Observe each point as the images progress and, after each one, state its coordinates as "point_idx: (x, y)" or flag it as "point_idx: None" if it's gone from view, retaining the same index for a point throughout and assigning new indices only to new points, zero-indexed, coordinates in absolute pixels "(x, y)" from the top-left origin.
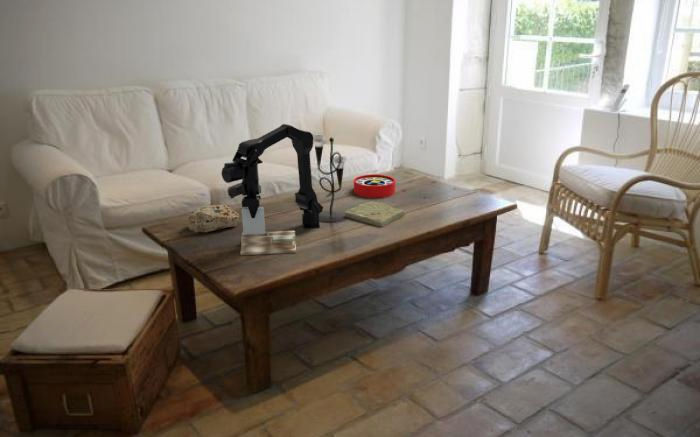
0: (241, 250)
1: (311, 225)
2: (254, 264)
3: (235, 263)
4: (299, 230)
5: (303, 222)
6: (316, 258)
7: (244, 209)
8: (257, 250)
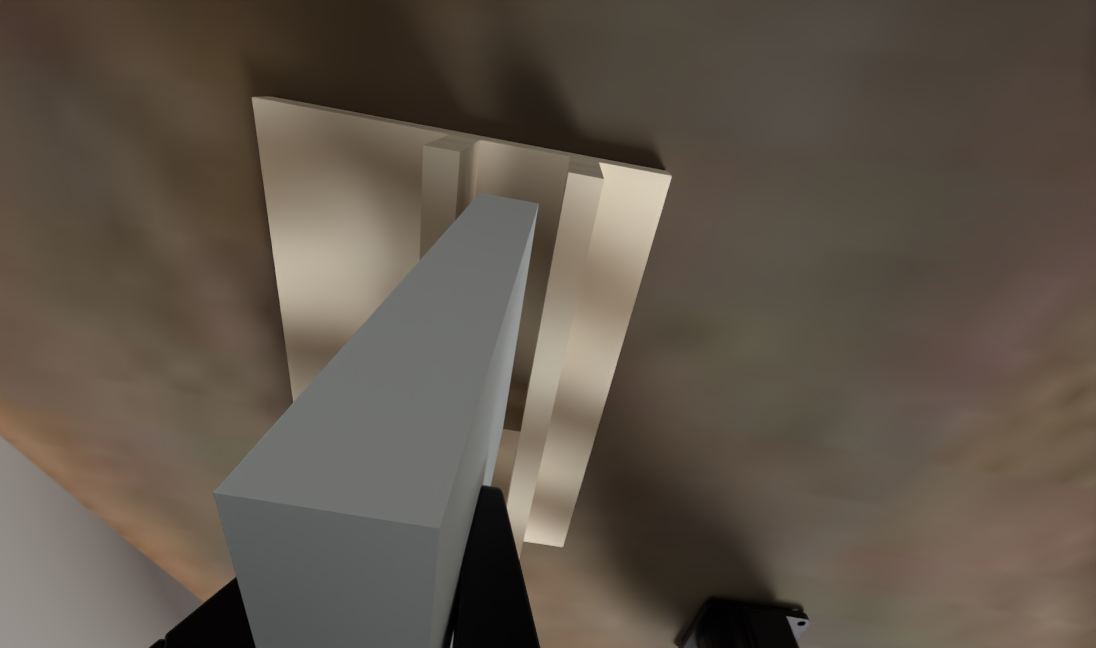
0: (310, 116)
1: (700, 639)
2: (68, 203)
3: (48, 9)
4: (686, 571)
5: (746, 632)
6: (228, 553)
7: (248, 574)
8: (304, 274)
